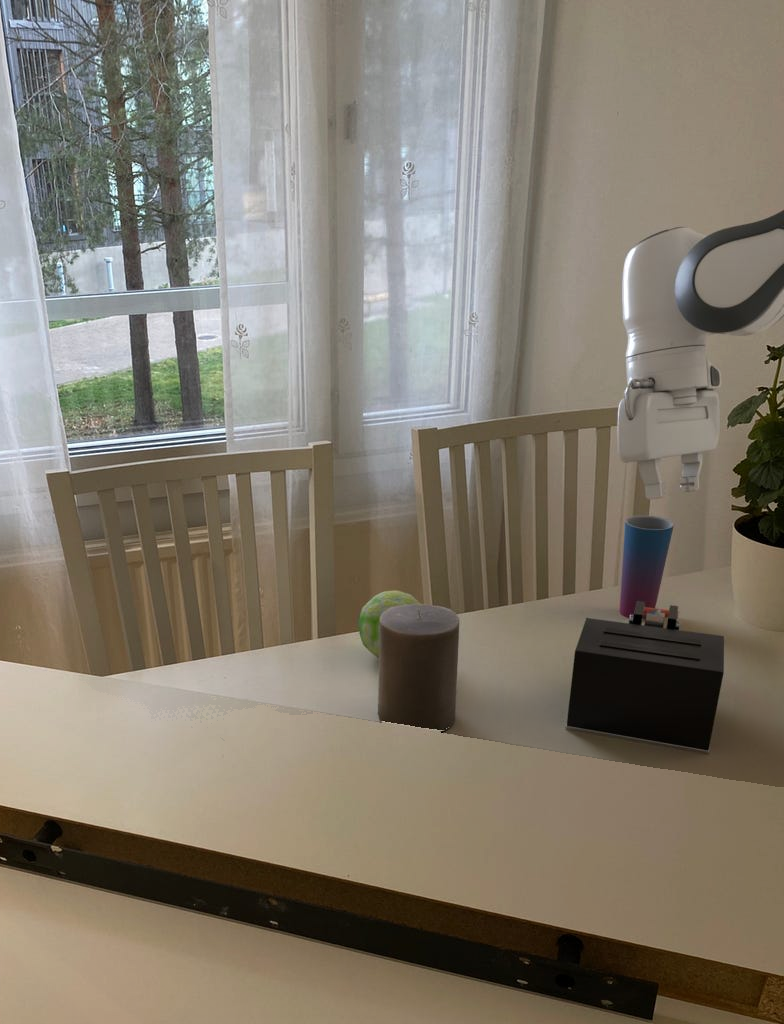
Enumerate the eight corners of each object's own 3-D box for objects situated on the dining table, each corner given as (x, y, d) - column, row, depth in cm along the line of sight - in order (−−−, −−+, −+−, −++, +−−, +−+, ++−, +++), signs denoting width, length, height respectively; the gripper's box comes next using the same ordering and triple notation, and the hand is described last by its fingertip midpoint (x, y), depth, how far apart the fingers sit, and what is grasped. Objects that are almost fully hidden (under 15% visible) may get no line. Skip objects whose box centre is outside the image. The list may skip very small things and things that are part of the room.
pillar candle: (427, 746, 109) (431, 632, 102) (362, 720, 115) (362, 611, 108) (470, 713, 116) (476, 605, 109) (406, 691, 121) (409, 586, 115)
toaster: (709, 715, 114) (725, 634, 109) (708, 757, 105) (725, 671, 100) (576, 693, 120) (585, 616, 115) (564, 731, 111) (574, 649, 106)
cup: (604, 609, 144) (615, 518, 137) (641, 603, 145) (654, 513, 139) (630, 626, 138) (644, 532, 131) (668, 619, 140) (683, 526, 133)
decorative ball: (441, 660, 129) (444, 595, 125) (387, 680, 124) (388, 613, 120) (397, 636, 137) (398, 574, 132) (343, 654, 132) (343, 590, 127)
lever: (634, 617, 126) (636, 600, 125) (676, 623, 124) (679, 606, 123) (629, 630, 115) (632, 612, 115) (675, 636, 113) (679, 618, 113)
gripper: (652, 373, 99) (660, 501, 101) (727, 373, 113) (732, 485, 115) (598, 383, 103) (607, 505, 106) (677, 381, 117) (683, 489, 119)
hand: (673, 495), depth 110 cm, fingers open, 8 cm apart
